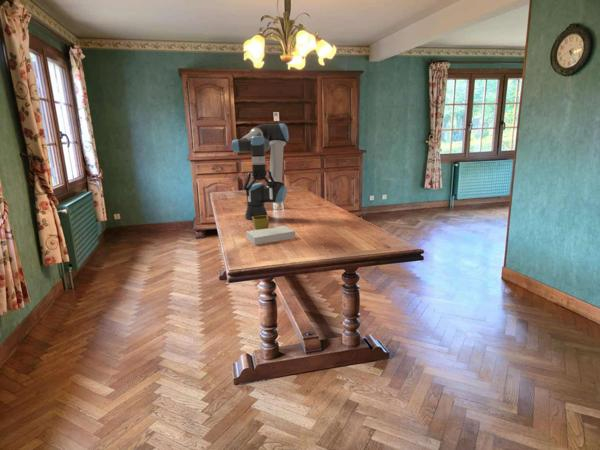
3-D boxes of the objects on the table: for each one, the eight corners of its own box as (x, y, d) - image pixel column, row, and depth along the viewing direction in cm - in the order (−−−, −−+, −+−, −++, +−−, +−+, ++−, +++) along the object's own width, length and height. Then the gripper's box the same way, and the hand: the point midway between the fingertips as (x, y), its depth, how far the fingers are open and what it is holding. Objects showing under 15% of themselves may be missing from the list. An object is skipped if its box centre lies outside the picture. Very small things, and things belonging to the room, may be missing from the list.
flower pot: (255, 234, 226) (254, 219, 223) (252, 230, 234) (251, 216, 231) (269, 233, 228) (269, 218, 225) (267, 229, 236) (266, 214, 234)
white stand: (246, 238, 219) (246, 231, 218) (285, 232, 229) (284, 225, 228) (254, 244, 207) (254, 237, 205) (295, 238, 217) (295, 231, 216)
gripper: (240, 165, 212) (242, 203, 217) (281, 162, 223) (282, 199, 228) (235, 164, 218) (238, 201, 224) (276, 162, 229) (277, 197, 235)
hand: (260, 200), depth 226 cm, fingers open, 13 cm apart
